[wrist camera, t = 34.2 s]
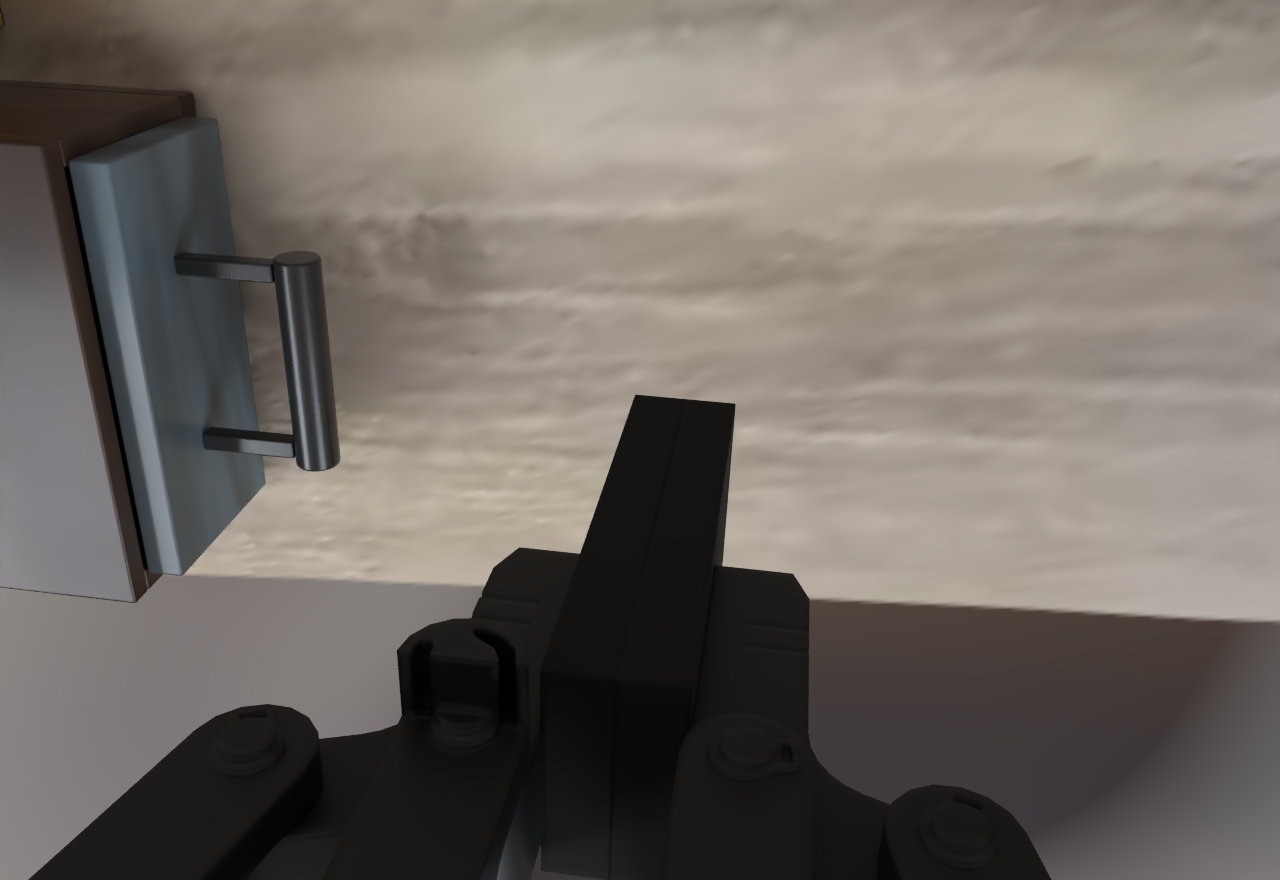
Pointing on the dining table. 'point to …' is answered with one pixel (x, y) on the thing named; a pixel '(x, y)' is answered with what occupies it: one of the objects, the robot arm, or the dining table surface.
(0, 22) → the upright yellow panel
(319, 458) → the drawer
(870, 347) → the dining table surface
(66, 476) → the cabinet
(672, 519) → the robot arm
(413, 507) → the dining table surface
